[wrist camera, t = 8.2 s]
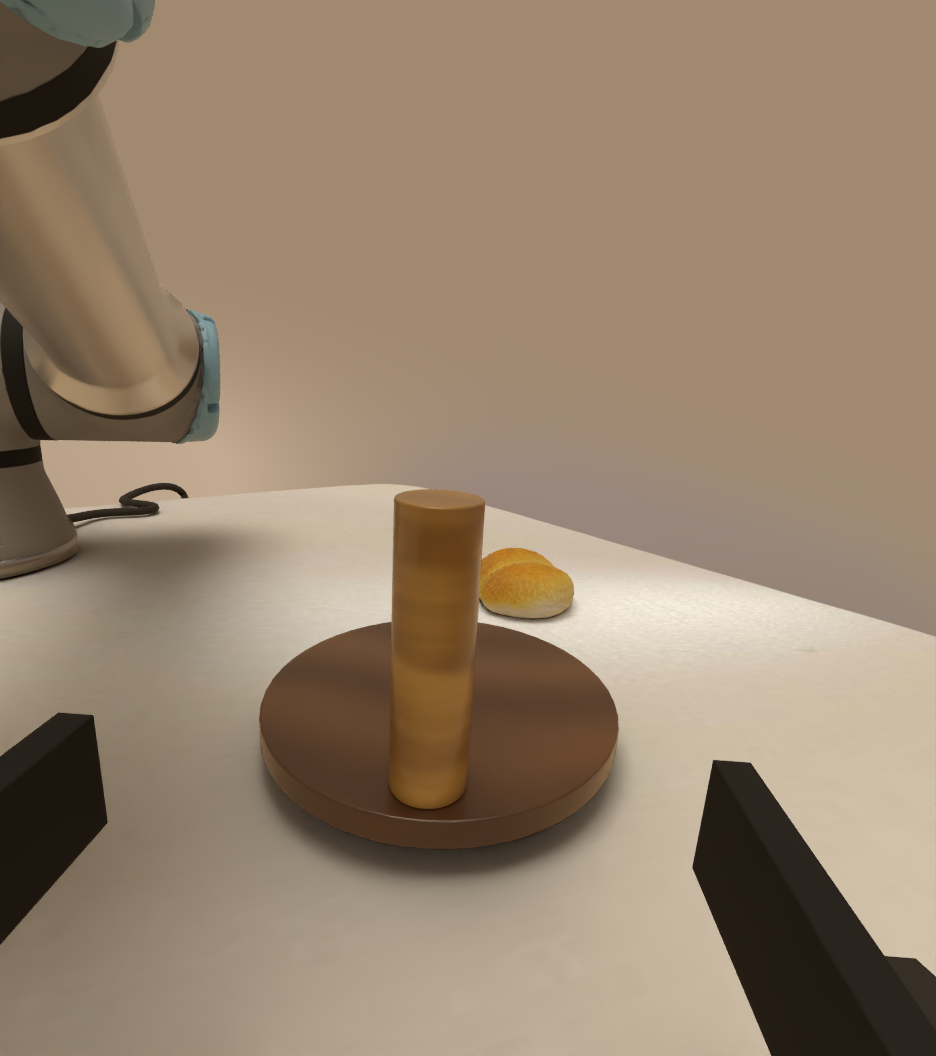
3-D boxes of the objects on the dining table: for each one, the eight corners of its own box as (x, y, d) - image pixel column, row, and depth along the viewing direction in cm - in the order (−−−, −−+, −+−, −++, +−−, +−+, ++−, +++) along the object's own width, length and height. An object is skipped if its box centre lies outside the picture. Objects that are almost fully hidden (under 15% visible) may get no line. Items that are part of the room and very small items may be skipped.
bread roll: (494, 627, 40) (498, 576, 39) (460, 584, 49) (462, 541, 48) (593, 618, 43) (599, 570, 42) (545, 579, 51) (548, 538, 50)
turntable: (323, 627, 36) (320, 440, 33) (583, 644, 35) (605, 457, 32) (182, 831, 19) (150, 493, 16) (664, 868, 19) (724, 528, 16)
